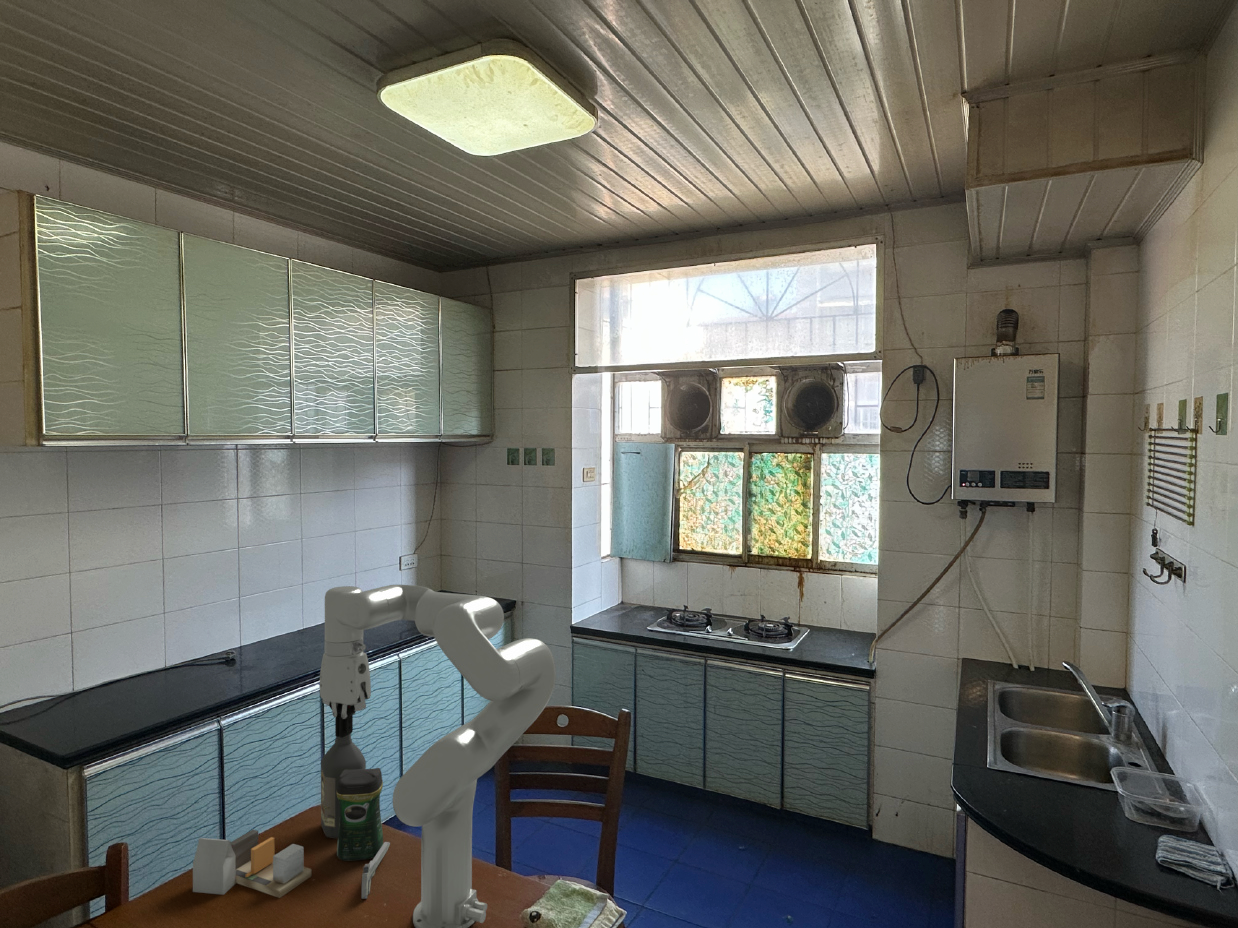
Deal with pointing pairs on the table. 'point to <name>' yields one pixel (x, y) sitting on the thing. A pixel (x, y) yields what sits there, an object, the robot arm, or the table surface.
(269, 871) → the board
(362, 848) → the coffee jar
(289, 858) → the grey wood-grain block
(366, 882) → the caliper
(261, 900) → the table surface
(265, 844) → the orange rectangular slab
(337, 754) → the liquor
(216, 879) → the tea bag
